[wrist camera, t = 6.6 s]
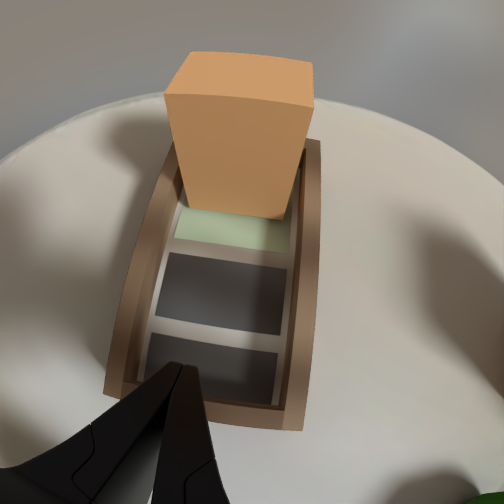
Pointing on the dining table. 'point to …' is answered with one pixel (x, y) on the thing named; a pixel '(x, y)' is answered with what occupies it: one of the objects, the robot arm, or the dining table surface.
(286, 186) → the block
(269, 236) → the tray
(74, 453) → the robot arm
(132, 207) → the dining table surface
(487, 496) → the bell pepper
